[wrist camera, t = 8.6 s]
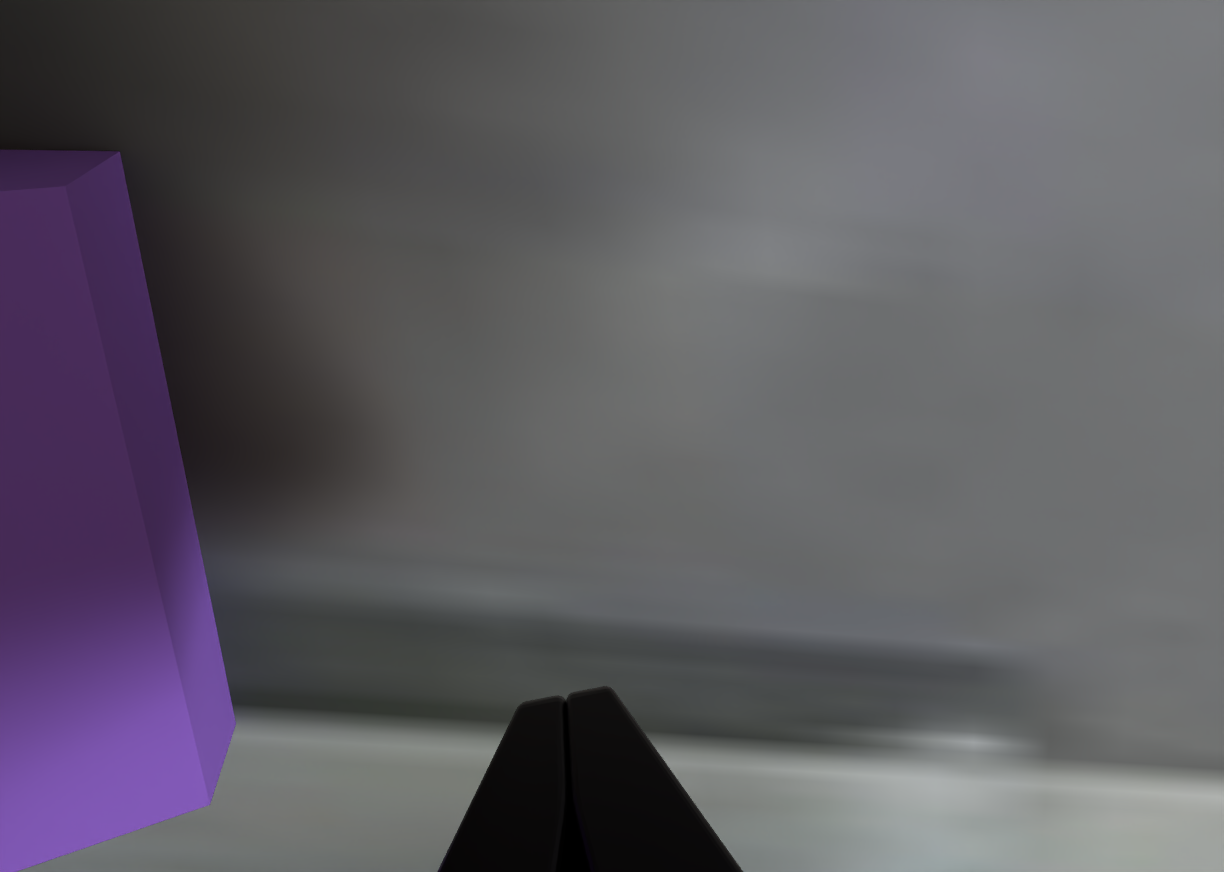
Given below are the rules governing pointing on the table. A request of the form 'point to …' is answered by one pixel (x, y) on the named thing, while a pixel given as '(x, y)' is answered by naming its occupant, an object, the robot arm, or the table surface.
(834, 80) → the table surface
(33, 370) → the bracket
